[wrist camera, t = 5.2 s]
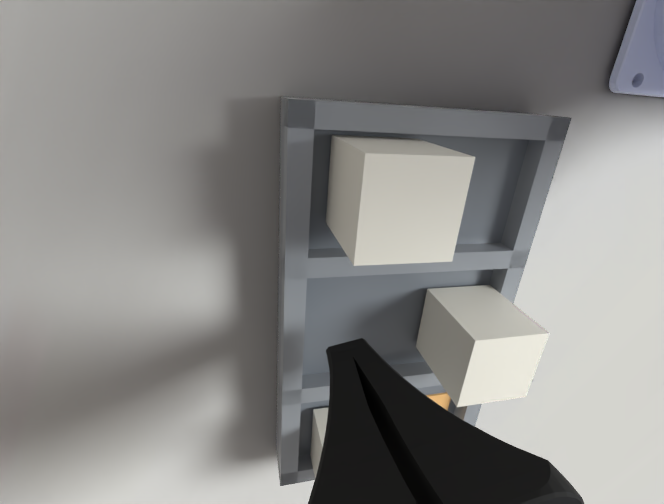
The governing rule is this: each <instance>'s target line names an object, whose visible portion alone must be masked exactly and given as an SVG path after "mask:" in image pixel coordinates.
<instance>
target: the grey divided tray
mask: <svg viewBox="0 0 664 504" xmlns="http://www.w3.org/2000/svg"><path fill="white" fill-rule="evenodd" d="M570 121H571V118H567V117H558V116H549V115H539V114H530V113H515V112H501V111H486V110H472V109H457V108H443V107H429V106H414V105H400V104H385V103H371V102H356V101H342V100H327V99H313V98H298V97H284V96H281V114H280V194H279V274H278V353H277V433H276V451H277V460H278V469H279V478H280V486H283V485H289V484H294V483H300V482H305V481H311V480H315V476H314V471H313V466H312V461H311V456H310V452H311V437H312V422H313V409H320V408H328V407H329V395H330V370H329V365H328V359H327V354H326V349H327V348H328V347H330V346H334V345H337V344H341V343H345V342H349V341H353V340H356V339H360V338H363V339H365V340H366V341H367V342H368V344H369V345H370V346H371V347H372V348H373V349H374V350H375V351H376V352H377V353H378V354H379V355H380V356H381V357H382V358H383V359H384V360H385V361H386V362H387V363H388V364H389V365H390V366H391V367H392V368H393V369H394V370H396V371H397V372H398V373H399V374H400V375H401V376H402V377H403V378H405V379H406V380H407V381H408V382H409V383H411V384H412V385H413V386H414V387H416V388H417V389H418V390H419V391H421V392H422V393H423V394H425V395H426V396H427V397H429V398H430V399H431V400H433V401H434V402H436V403H437V404H439V405H440V406H441V407H443V408H444V409H446V410H447V411H449V412H451V413H452V414H454V415H455V416H457V417H459V418H460V419H462V420H464V421H465V422H467V423H469V424H471V425H473V426H474V427H475V424H476V420H477V417H478V414H479V411H480V408H481V404H476V405H469V406H462V407H456V405H455V404H454V402H453V401H452V399H451V398H450V396H449V395H448V393H447V392H446V391H445V389H444V388H443V386H442V385H441V383H440V382H439V380H438V379H437V377H436V376H435V374H434V373H433V371H432V370H431V368H430V367H429V366H428V364H427V363H426V361H425V360H424V358H423V357H422V355H421V354H420V352H419V351H418V349H417V348H416V343H417V338H418V333H419V328H420V323H421V318H422V313H423V308H424V303H425V298H426V293H427V289H432V288H448V287H464V286H480V285H490V286H492V287H493V288H494V289H495V290H497V291H498V292H499V293H500V294H502V295H503V296H504V297H505V298H507V299H508V300H509V301H510V302H512V303H514V299H515V296H516V293H517V290H518V287H519V283H520V280H521V277H522V274H523V271H524V267H525V264H526V261H527V258H528V255H529V252H530V248H531V245H532V242H533V239H534V236H535V232H536V229H537V226H538V223H539V220H540V216H541V213H542V210H543V207H544V204H545V201H546V197H547V194H548V191H549V188H550V185H551V181H552V178H553V175H554V172H555V169H556V165H557V162H558V159H559V156H560V153H561V150H562V146H563V143H564V140H565V137H566V134H567V130H568V127H569V124H570ZM332 135H351V136H373V137H395V138H417V139H420V140H423V141H426V142H429V143H433V144H436V145H439V146H442V147H445V148H448V149H452V150H455V151H458V152H461V153H464V154H467V155H471V156H474V157H475V162H474V166H473V171H472V175H471V180H470V184H469V189H468V193H467V197H466V202H465V206H464V211H463V215H462V220H461V224H460V229H459V233H458V238H457V242H456V247H455V251H454V256H453V260H452V262H433V263H409V264H386V265H363V266H353V264H352V262H351V261H350V259H349V258H348V256H347V255H346V253H345V252H344V250H343V248H342V247H341V245H340V244H339V242H338V241H337V239H336V238H335V236H334V234H333V233H332V231H331V230H330V228H329V227H328V225H327V223H326V212H327V197H328V182H329V167H330V152H331V137H332Z"/></svg>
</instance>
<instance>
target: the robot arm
mask: <svg viewBox="0 0 664 504" xmlns="http://www.w3.org/2000/svg"><path fill="white" fill-rule="evenodd" d="M633 78H634V81H633V83H632V80H633ZM609 88H610V90H611V91H612V92H614V93H622V94H633V95H644V96H655V97H664V0H636V3H635V6H634V9H633V12H632V15H631V18H630V21H629V24H628V26H627V29H626V32H625V35H624V38H623V41H622V44H621V47H620V50H619V53H618V56H617V59H616V62H615V65H614V68H613V71H612V74H611V76H610V80H609ZM326 354H327V359H328V365H329V370H330V395H329V407H328V417H327V425H326V432H325V437H324V443H323V448H322V453H321V457H320V462H319V466H318V471H317V475H316V478H315V482H314V485H313V489H312V492H311V496H310V499H309V502H308V504H584V502H583V499H582V497H581V496H580V495H579V494H578V492H577V491H576V490H575V489H574V487H573V486H572V485H571V484H570V483H569V482H568V480H567V479H566V478H565V477H564V476H563V475H562V474H561V473H560V472H559V471H558V470H557V469H556V468H555V467H554V466H553V465H552V464H551V463H550V462H549V461H548V460H546V459H543V458H541V457H538V456H536V455H533V454H531V453H529V452H526V451H524V450H521V449H519V448H516V447H514V446H512V445H510V444H507V443H505V442H503V441H501V440H499V439H497V438H495V437H493V436H491V435H489V434H487V433H485V432H484V431H482V430H480V429H478V428H476V427H474V426H473V425H471V424H469V423H467V422H465V421H464V420H462V419H460V418H459V417H457V416H455V415H454V414H452V413H451V412H449V411H447V410H446V409H444V408H443V407H441V406H440V405H439V404H437V403H436V402H434V401H433V400H431V399H430V398H429V397H427V396H426V395H425V394H423V393H422V392H421V391H419V390H418V389H417V388H416V387H414V386H413V385H412V384H411V383H409V382H408V381H407V380H406V379H405V378H403V377H402V376H401V375H400V374H399V373H398V372H397V371H396V370H394V369H393V368H392V367H391V366H390V365H389V364H388V363H387V362H386V361H385V360H384V359H383V358H382V357H381V356H380V355H379V354H378V353H377V352H376V351H375V350H374V349H373V348H372V347H371V346H370V345H369V344H368V342H367V341H366V340H365V339H363V338H360V339H356V340H353V341H349V342H345V343H341V344H337V345H334V346H330V347H328V348H327V349H326Z"/></svg>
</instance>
